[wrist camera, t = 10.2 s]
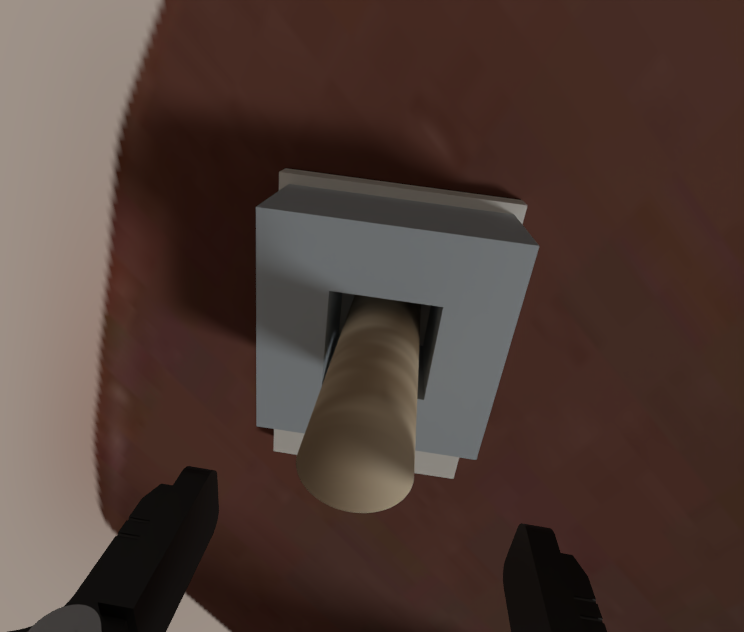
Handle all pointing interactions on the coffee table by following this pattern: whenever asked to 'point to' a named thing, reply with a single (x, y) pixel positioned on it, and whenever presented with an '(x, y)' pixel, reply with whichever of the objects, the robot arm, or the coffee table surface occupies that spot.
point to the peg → (366, 411)
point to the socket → (388, 281)
